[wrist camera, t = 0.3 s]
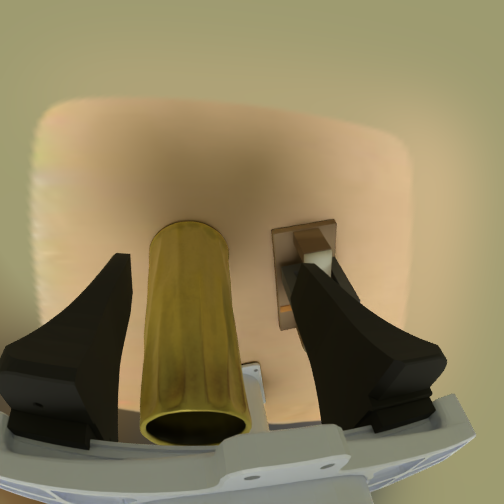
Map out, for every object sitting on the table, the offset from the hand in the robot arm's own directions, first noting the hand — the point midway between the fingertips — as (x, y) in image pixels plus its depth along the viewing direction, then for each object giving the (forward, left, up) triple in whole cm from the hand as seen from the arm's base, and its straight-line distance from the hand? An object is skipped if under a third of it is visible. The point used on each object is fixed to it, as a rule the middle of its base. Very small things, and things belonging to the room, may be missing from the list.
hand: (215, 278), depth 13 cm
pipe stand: (-10, -7, -10) cm, 16 cm away
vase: (-5, +2, -10) cm, 12 cm away
